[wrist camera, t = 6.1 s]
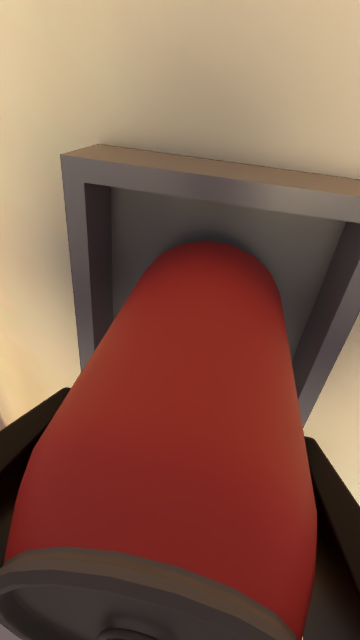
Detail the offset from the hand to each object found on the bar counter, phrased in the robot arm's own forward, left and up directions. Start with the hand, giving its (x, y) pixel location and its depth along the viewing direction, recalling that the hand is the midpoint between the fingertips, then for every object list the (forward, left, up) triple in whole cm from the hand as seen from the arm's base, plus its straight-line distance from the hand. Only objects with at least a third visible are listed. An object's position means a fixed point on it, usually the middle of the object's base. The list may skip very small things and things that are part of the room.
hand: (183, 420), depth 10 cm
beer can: (0, 0, -7) cm, 7 cm away
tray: (0, 0, -9) cm, 9 cm away
